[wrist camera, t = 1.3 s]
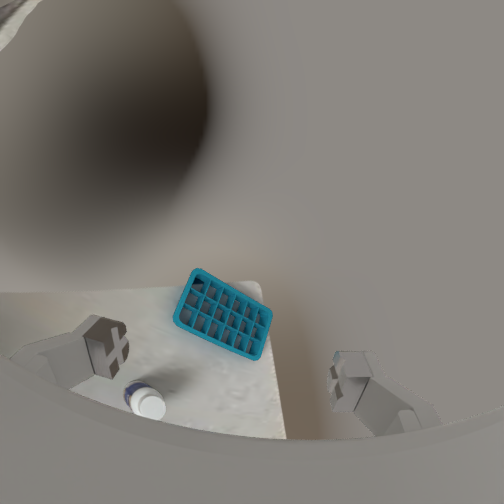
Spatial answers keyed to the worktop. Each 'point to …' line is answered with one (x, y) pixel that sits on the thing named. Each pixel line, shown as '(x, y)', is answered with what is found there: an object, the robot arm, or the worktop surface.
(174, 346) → the worktop surface
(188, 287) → the ice cube tray
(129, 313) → the worktop surface
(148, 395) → the pill bottle
